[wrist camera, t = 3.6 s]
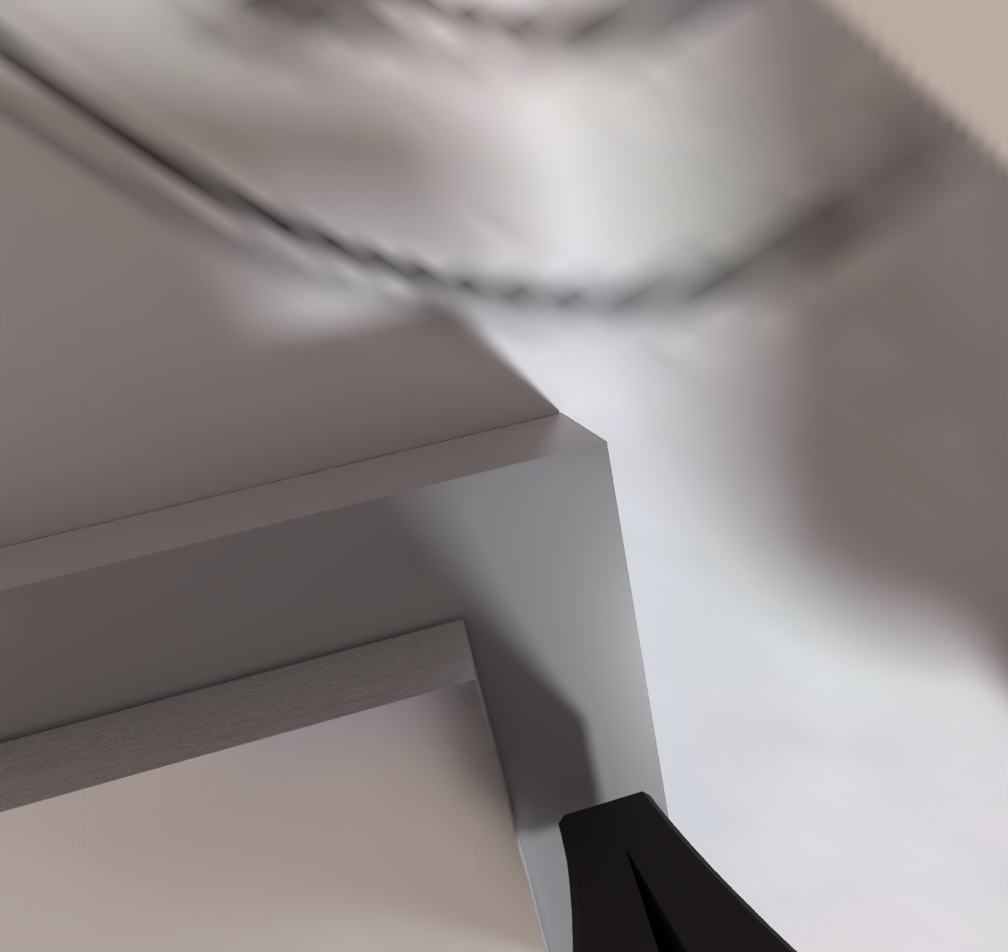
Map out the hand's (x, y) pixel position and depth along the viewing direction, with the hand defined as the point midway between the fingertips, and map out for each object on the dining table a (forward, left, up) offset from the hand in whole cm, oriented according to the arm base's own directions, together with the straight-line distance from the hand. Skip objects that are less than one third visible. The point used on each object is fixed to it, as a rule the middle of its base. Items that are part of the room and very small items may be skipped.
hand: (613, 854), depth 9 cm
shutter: (+5, 0, -1) cm, 5 cm away
